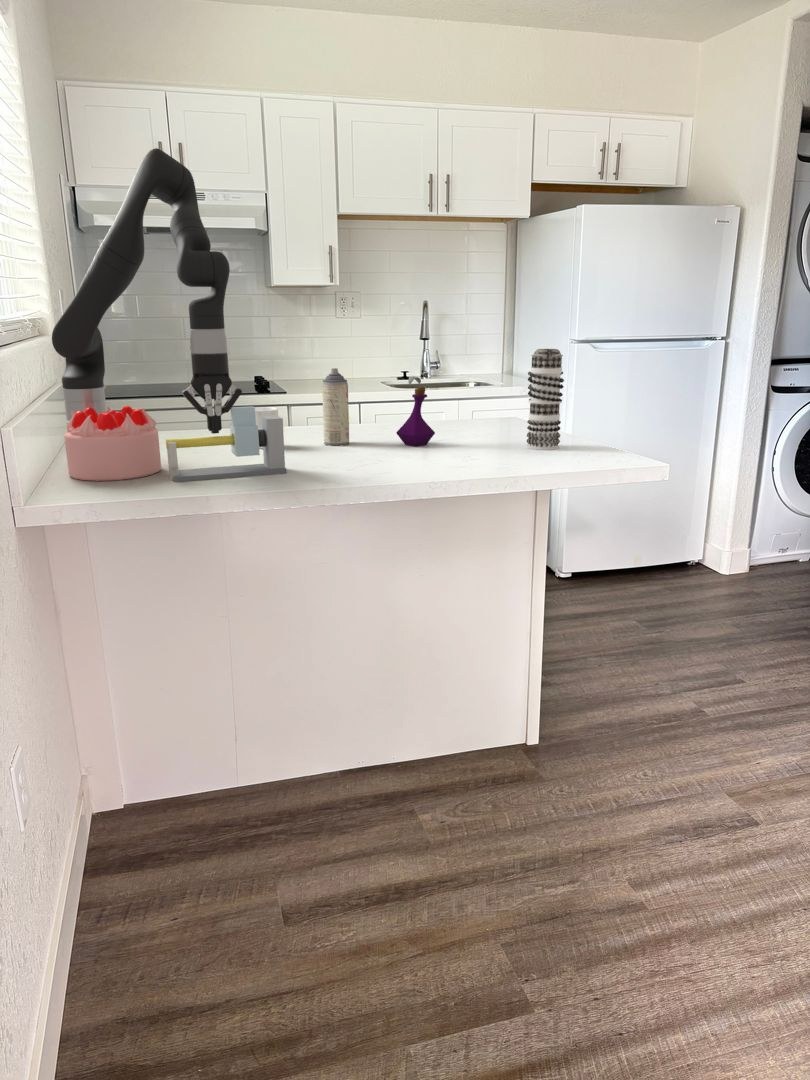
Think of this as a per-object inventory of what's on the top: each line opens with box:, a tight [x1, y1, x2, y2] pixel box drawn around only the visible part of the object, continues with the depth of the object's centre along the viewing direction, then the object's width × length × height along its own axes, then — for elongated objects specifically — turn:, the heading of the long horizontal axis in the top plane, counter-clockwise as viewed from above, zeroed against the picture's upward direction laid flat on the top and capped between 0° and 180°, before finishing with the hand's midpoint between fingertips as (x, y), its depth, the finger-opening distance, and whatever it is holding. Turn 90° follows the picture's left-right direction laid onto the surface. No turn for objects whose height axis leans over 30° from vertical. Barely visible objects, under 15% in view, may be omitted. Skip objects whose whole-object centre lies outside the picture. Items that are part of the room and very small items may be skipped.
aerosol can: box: [321, 367, 350, 447], centre depth 211 cm, size 7×7×20 cm
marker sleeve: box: [229, 406, 261, 458], centre depth 174 cm, size 5×6×10 cm
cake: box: [63, 405, 162, 482], centre depth 176 cm, size 20×20×14 cm
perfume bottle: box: [396, 376, 436, 448], centre depth 209 cm, size 8×8×18 cm
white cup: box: [255, 406, 279, 450], centre depth 209 cm, size 8×8×10 cm
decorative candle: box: [526, 348, 565, 451], centre depth 203 cm, size 9×9×25 cm
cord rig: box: [165, 415, 287, 483], centre depth 173 cm, size 25×8×12 cm, turn 112°
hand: (215, 432), depth 172 cm, fingers closed
